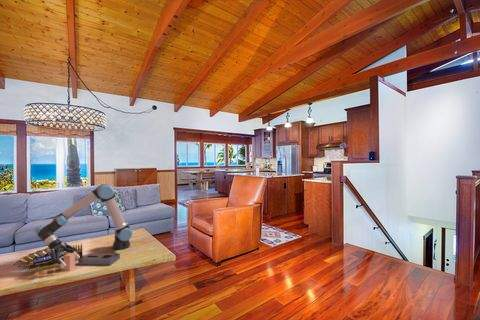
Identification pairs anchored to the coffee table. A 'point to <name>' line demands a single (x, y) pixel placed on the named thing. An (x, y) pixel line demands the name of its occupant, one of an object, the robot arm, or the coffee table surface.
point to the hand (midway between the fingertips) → (71, 262)
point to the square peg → (69, 261)
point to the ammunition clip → (78, 250)
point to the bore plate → (99, 259)
